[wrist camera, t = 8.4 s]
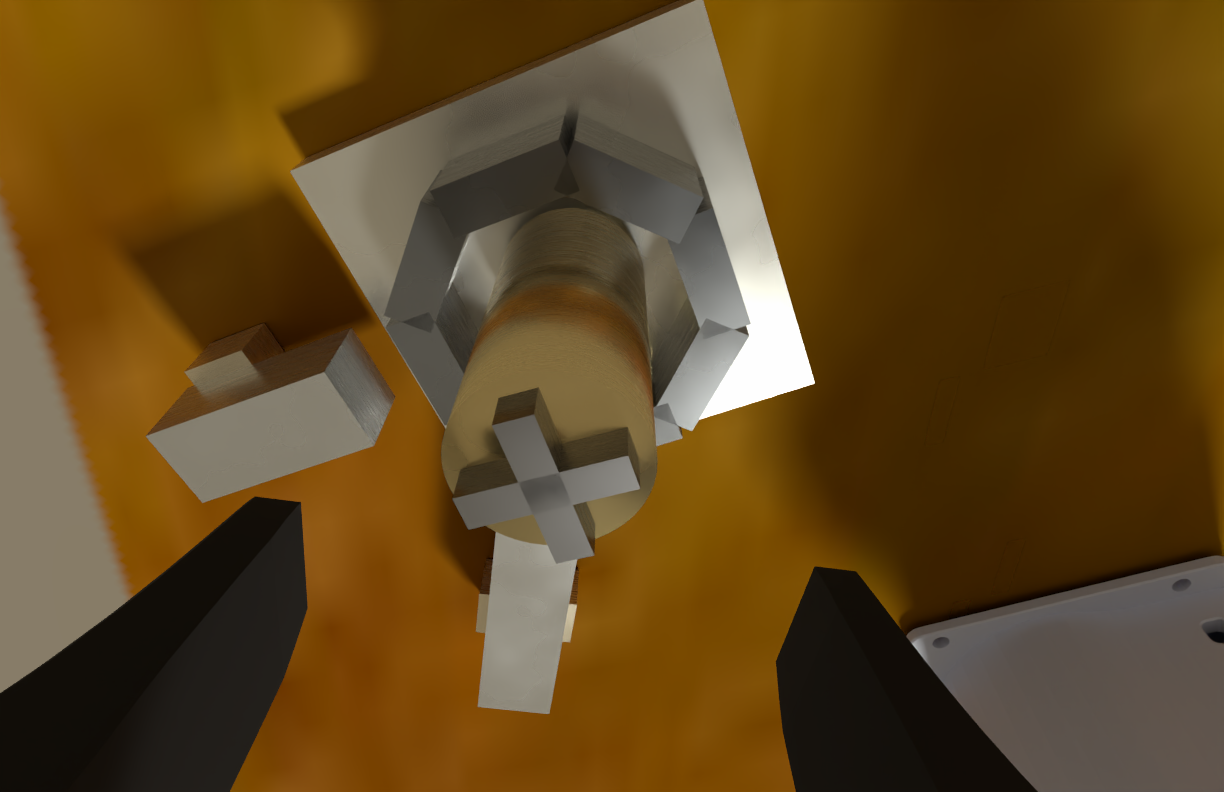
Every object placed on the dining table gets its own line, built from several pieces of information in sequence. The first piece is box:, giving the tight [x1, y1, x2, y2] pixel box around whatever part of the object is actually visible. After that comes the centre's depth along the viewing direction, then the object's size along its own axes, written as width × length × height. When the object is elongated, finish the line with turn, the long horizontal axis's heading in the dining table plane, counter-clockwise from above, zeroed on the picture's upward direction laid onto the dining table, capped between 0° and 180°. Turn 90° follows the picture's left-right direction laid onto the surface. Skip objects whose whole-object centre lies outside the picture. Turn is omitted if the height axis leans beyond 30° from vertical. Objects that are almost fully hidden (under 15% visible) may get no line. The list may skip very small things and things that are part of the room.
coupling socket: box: [146, 0, 815, 714], centre depth 19 cm, size 14×15×3 cm
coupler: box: [441, 208, 657, 564], centre depth 14 cm, size 3×3×8 cm
